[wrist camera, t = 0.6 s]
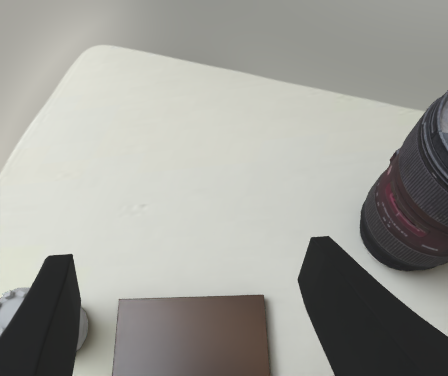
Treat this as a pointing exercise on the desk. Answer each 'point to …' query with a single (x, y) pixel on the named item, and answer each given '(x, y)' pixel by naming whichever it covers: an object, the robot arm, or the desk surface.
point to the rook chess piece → (8, 304)
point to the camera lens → (412, 198)
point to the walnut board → (191, 337)
